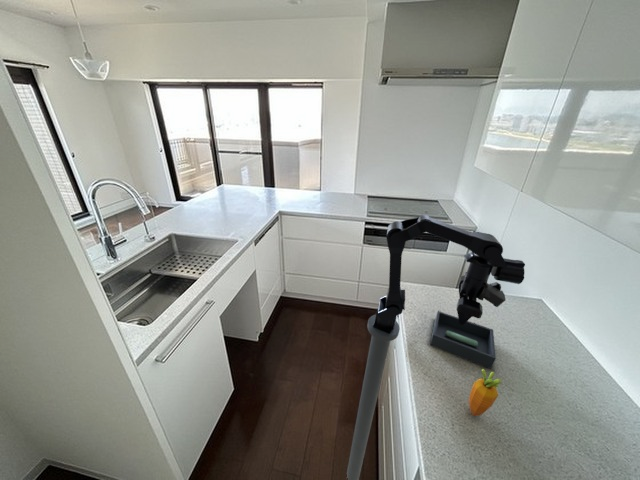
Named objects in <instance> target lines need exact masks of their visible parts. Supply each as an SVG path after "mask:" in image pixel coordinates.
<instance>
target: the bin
mask: <svg viewBox="0 0 640 480" xmlns="http://www.w3.org/2000/svg"><path fill="white" fill-rule="evenodd" d="M446 331H451V332H453V333H456V334H459V335H462V336H464V337H467V338H470V339H473V340H475V341H477V342H478V346H476V347H474V346H471V345H469V344H466V343H463V342H461V341H458V340H455V339H453V338H450V337H447V336H446V335H445V332H446ZM494 337H495V335H494V329H492V328H490V327H487V326H484V325H481V324H478V323H475V322H471V321H469V320H468V321H467V322H466V323H465V324H464V325H461V324H459V318H458V316H455V315H452V314H448V313H446V312H442V311H439V310H437V313H436V315H435V318H434V324H433V328H432V334H431V337H430V342H429V346H432V347H434V348H436V349H439V350H442V351H444V352H447V353H449V354H451V355H454V356H457V357H459V358H462V359H464V360H467V361H469V362H471V363H473V364H474V363H475V364H477V365H479V366H482V367H484V368H487V369H489V370H491V369H492V368H493V366H494V363H495V361H496V359H497V356H496V345H495V338H494Z"/></svg>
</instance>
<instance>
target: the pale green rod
mask: <svg viewBox="0 0 640 480" xmlns="http://www.w3.org/2000/svg"><path fill="white" fill-rule="evenodd" d="M445 335H446V336H447V337H450V338H453V339H455V340H458V341H461V342H463V343H466V344H469V345H471V346H474V347H476V346H478V342H477V341H475V340H473V339H470V338H467V337H464V336H462V335H459V334H456V333H453V332H451V331H446V332H445Z"/></svg>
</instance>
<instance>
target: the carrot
mask: <svg viewBox="0 0 640 480" xmlns="http://www.w3.org/2000/svg"><path fill="white" fill-rule="evenodd" d="M481 373H482V378H479V379H476V380H475V381H474V382H473V385H472V387H471V390H470V393H469V398H468V399H469V400H468V405H469V410H470V414H471V415H472V416H473V417H477V416H478V417H479V416H481V415H483V414H484V413H485V412H487V411H488V410H489V409H490V408H491V407H492V406H493V405H494V404H495V401H496V400H497V399H498V397H499V392H498V389H497V388H500V385H499V384H501V383H502V380H501V379H500V378H496V379H494V380H493V376H495V372H494V371H491V372H490V373H489V375H488V377H487V373H486V370H485V369H484V368H482V369H481Z"/></svg>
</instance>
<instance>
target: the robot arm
mask: <svg viewBox="0 0 640 480" xmlns="http://www.w3.org/2000/svg"><path fill="white" fill-rule="evenodd" d="M425 233H427V234H430V235H433V236H434V237H438V238H441V239H443V240H445V241H449V242H452V243H454V244H457V245H459V246H462V247H464V248H466V249H468V250H469V251H470V252H469V253H466V254H463V258H464V260H465V262H467V263H469V265H468V267H467V270H466V271H465V272H464V274H463V275H462V276H460V277H459V281H458V295H459V298H458V300H457V303H456V312H457V318H459V324H461V325H464V324H465V323H466V322H467V321H469V320H470V319H471V318H476V319H481V318H482V317H483V313H484V312H483V306H482V304H481V302H479V301H477V300H480V301H483V302H484V300H485V301H487V302H489V303H490V304H492V305H493V306H494V307H495V308H498V307H499V306H501V305H502V304H503V303H504V302H505V301H506V295H505V293H504V291H503V290H502V284H501V283H499V282H497V281H500V282H505V283H509V284H510V283H511V284H517V285H520V284H522V283H523V282H524V279H525V266H526V264H525V262H524V261H523V260H521V259H510V258H506V257H505V258H504V256H503V252H504V248H503V246H502V244H501V243H500V241H499V240H498V239H497V238H496V236H495V235H493V234H491V233H486V232H482V231H481V232H480V231H468V230H466V229H463V228H460V227H457V226H456V225H452V224H449V223H447V222H444V221H441V220H438V219H435V218H434V217H430V216H429V215H427V214H423V215H420V216H416V217H413V218H407V219H404V220H401V221H393V222H391V223H390V224H388V227H387V231H386V243H387V248H388V251H389V276H388V277H389V278H388V285H389V286H388V288H387V292H386V295H385V296H382V297H380V298H379V303H378V307H377V310H376V312H375V315H376V317H375V322H374V324H373V327H374V328H376V329H379V330H381V331H384V332H386V333H389V334H390V333H391V330H393V329H394V326H395V322H396V321H397V318H398V317H397V316H399V315H402V313H403V311H405V310H406V289H402V288H401V287H402V286H401V280H402V279H401V278H402V277H401V276H402V260H403V259H402V257H403V253H404V249H405V246H406V242H408V241H411V240H413V239H415V238H416V237H418V236H420V235H423V234H425ZM490 275H491V276H492V277H493V279H494V280H496V281H495V282H492V283H488V281H489V279H490V278H489V277H490Z"/></svg>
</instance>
